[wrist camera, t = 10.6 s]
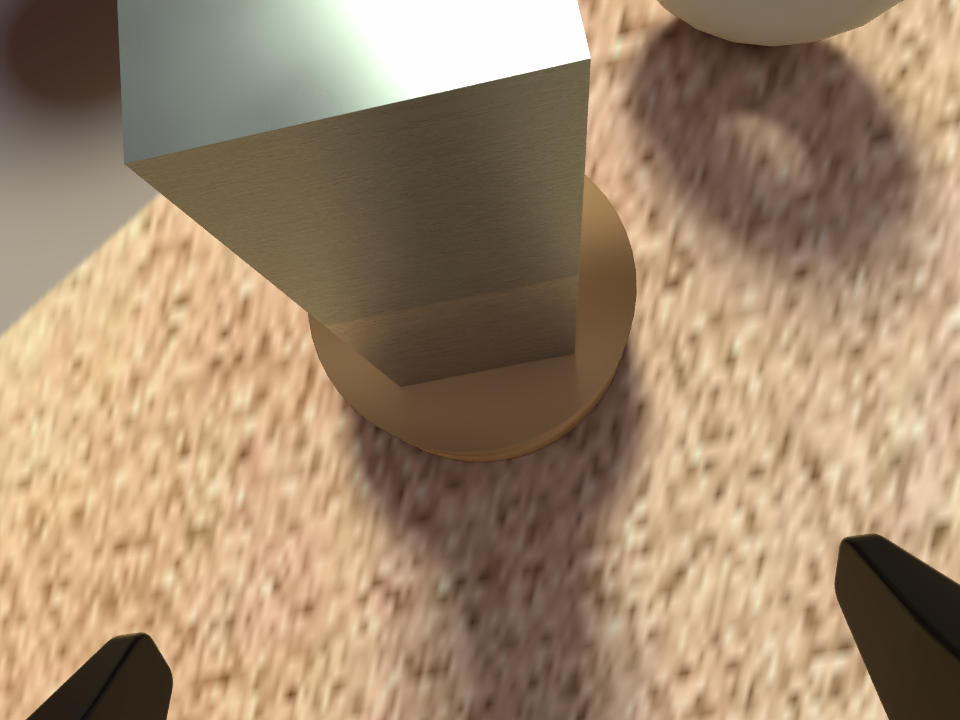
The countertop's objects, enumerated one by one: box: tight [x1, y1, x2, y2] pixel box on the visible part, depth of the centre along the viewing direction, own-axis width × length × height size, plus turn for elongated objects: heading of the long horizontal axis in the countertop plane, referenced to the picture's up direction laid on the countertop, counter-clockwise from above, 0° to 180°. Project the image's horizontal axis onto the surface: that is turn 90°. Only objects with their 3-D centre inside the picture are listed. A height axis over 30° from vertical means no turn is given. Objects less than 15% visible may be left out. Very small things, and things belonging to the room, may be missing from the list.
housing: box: [118, 0, 591, 387], centre depth 14 cm, size 5×5×13 cm
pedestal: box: [308, 174, 637, 462], centre depth 22 cm, size 10×10×4 cm
